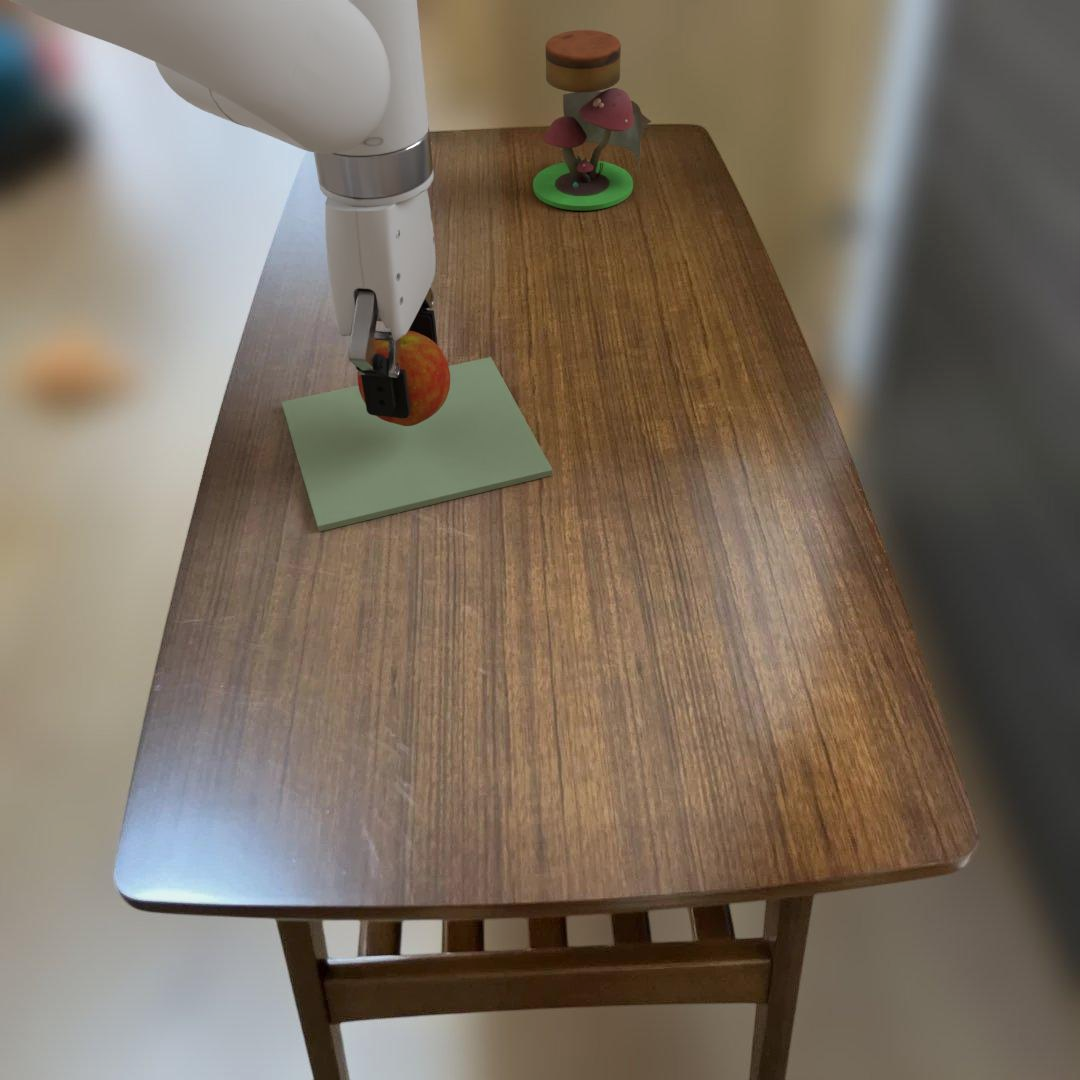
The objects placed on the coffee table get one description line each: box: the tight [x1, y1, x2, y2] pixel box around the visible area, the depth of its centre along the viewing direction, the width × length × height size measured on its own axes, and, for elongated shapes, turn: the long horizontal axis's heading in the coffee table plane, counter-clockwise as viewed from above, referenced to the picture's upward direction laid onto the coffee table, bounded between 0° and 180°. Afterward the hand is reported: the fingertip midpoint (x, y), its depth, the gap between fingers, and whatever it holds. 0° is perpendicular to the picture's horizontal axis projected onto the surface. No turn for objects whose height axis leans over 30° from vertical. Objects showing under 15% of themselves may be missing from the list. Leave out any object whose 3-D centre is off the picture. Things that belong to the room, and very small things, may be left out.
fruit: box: [357, 330, 450, 426], centre depth 84 cm, size 7×7×8 cm
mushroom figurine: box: [532, 29, 652, 212], centre depth 114 cm, size 12×13×15 cm
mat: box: [281, 356, 553, 533], centre depth 88 cm, size 18×16×1 cm
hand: (403, 382), depth 85 cm, fingers closed on fruit, 7 cm apart
